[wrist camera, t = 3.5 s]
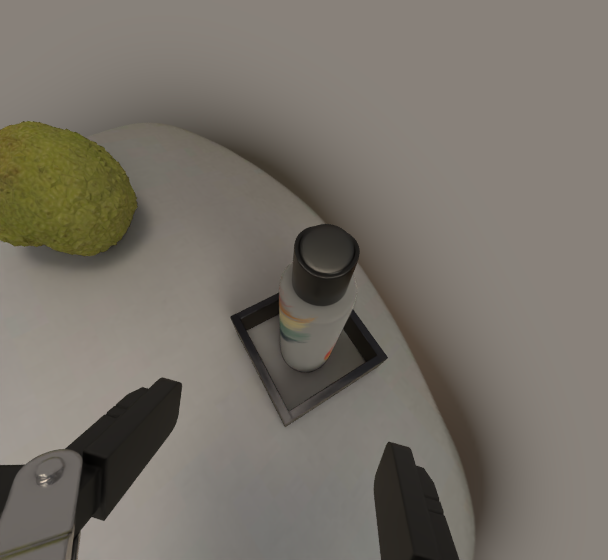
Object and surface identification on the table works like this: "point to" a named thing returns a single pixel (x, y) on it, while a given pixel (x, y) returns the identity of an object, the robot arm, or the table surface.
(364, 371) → the holder
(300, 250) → the lotion bottle
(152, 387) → the robot arm
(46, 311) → the table surface
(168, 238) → the table surface
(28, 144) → the fruit
